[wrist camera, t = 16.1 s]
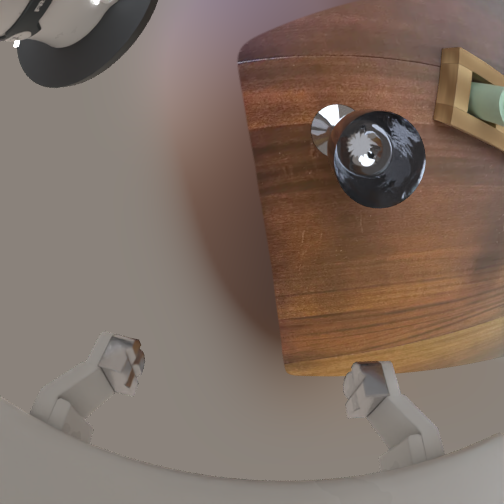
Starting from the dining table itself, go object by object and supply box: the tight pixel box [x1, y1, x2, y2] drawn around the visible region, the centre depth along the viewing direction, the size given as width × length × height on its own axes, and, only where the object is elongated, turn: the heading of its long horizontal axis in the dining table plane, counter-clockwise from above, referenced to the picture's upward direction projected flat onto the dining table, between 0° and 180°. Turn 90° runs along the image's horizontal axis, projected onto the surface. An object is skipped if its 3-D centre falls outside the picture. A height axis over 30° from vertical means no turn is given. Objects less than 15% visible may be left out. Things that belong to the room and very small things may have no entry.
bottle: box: [467, 82, 504, 127], centre depth 19 cm, size 5×5×15 cm
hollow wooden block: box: [433, 47, 504, 153], centre depth 24 cm, size 11×20×4 cm, turn 85°
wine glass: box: [311, 104, 425, 208], centre depth 25 cm, size 8×8×15 cm
